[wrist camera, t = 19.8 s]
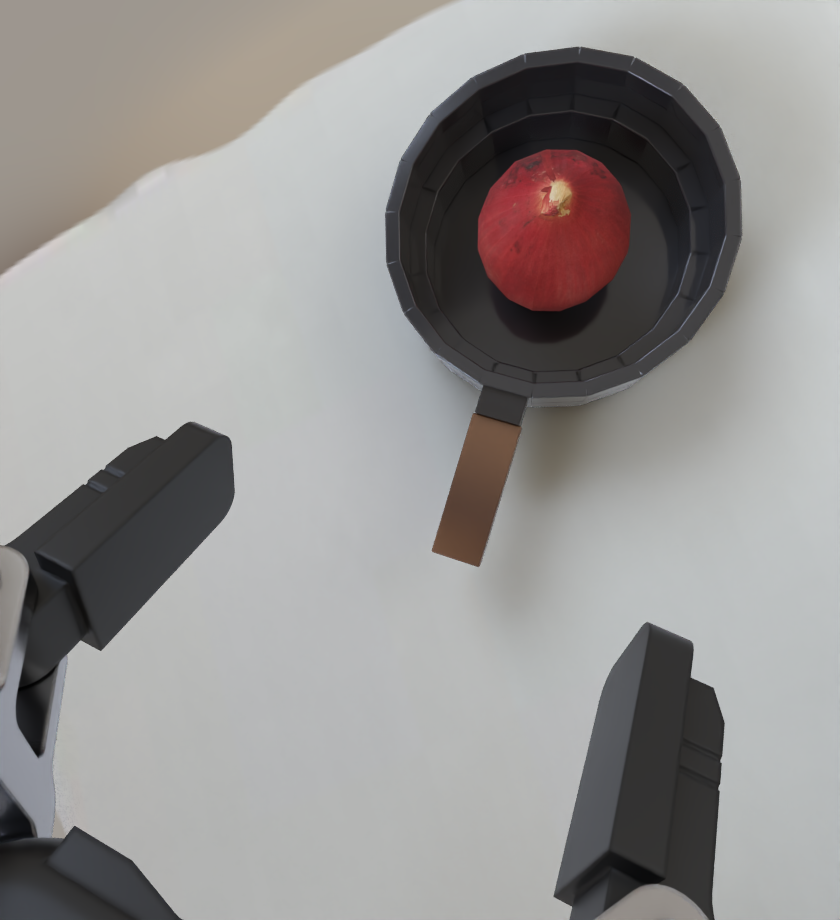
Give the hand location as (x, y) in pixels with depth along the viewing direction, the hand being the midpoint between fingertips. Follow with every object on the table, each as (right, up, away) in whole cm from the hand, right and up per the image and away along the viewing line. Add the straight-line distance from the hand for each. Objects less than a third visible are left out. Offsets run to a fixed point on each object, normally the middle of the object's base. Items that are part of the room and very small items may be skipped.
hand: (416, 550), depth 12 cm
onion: (+6, +10, +17) cm, 21 cm away
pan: (+6, +11, +18) cm, 21 cm away
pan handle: (+3, +1, +15) cm, 16 cm away
